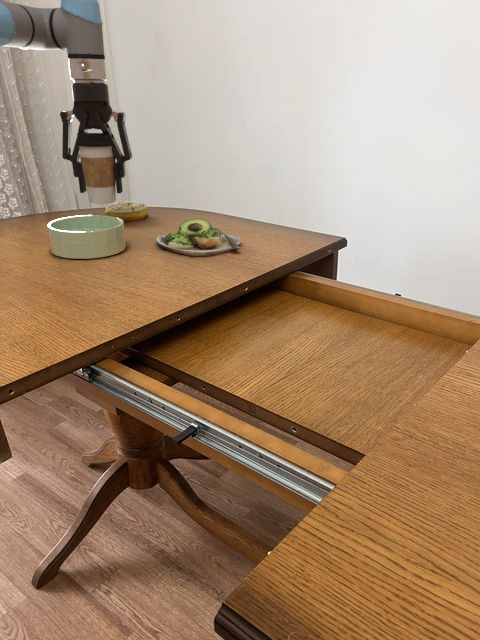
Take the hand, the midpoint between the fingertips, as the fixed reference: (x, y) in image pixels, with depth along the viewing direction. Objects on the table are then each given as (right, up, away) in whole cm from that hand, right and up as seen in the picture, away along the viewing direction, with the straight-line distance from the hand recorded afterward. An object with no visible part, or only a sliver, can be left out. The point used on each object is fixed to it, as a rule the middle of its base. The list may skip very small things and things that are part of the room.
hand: (101, 191), depth 126 cm
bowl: (0, -15, -9) cm, 18 cm away
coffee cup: (0, -2, +1) cm, 2 cm away
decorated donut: (+1, -2, +19) cm, 19 cm away
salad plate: (+23, -13, -4) cm, 27 cm away
